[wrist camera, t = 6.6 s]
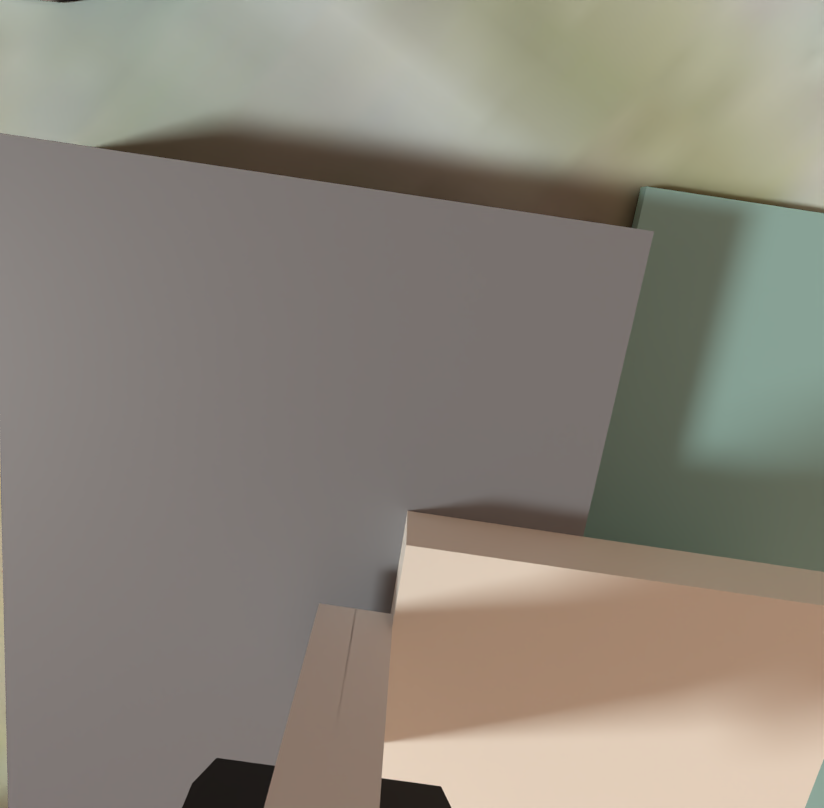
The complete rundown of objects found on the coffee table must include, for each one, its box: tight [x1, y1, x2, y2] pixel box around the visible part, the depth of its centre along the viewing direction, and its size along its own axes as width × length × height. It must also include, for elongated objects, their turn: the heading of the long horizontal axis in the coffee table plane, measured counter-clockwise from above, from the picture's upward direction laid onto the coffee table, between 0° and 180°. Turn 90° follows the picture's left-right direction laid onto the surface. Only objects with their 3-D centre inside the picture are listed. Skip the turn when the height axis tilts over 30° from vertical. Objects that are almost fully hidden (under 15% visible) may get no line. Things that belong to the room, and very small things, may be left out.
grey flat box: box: [0, 133, 654, 808], centre depth 16 cm, size 18×12×3 cm, turn 172°
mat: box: [583, 186, 824, 808], centre depth 17 cm, size 20×10×1 cm, turn 172°
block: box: [382, 511, 824, 808], centre depth 14 cm, size 6×9×2 cm, turn 81°
